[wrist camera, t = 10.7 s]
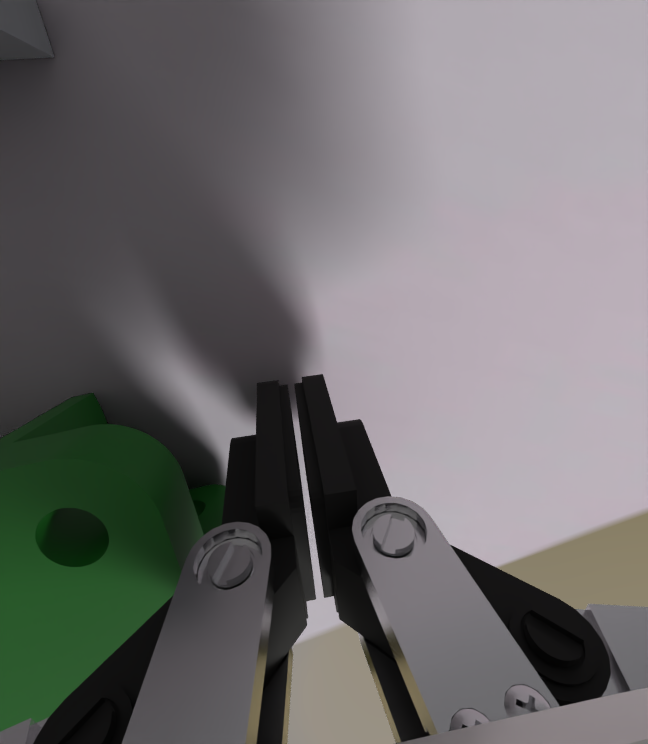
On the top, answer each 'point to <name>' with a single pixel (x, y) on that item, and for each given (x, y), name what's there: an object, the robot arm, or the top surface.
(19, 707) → the clamp
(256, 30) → the top surface
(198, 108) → the top surface
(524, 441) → the top surface
